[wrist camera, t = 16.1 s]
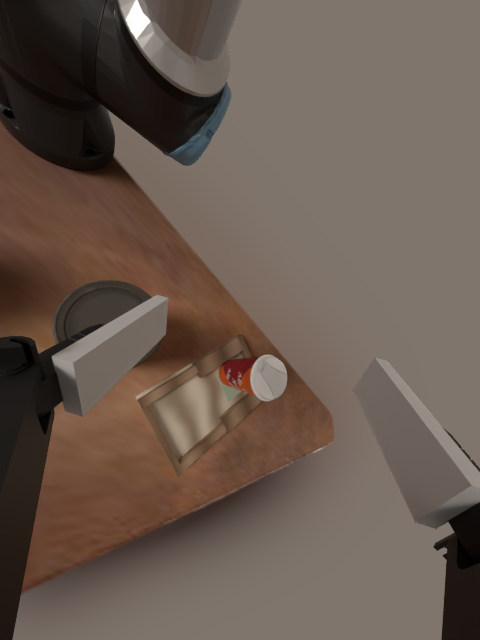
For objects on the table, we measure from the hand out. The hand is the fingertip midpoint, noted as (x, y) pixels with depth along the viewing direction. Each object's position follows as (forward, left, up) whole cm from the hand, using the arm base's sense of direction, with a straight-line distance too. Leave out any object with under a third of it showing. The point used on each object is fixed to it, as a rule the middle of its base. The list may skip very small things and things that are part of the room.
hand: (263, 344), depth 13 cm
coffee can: (-3, -8, -30) cm, 31 cm away
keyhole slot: (+8, +11, -30) cm, 33 cm away
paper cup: (+4, +16, -30) cm, 34 cm away
